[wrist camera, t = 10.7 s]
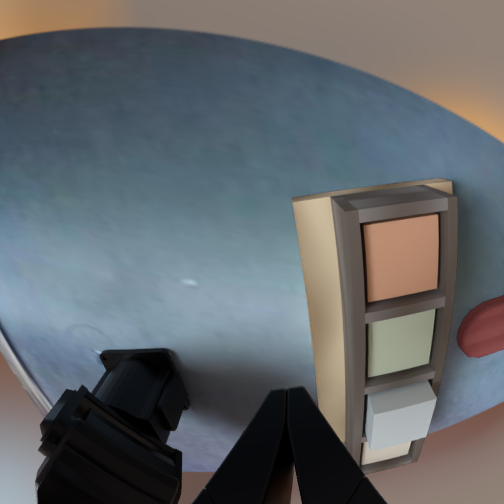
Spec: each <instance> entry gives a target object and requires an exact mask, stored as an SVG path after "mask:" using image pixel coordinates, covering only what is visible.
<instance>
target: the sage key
mask: <svg viewBox="0 0 504 504" xmlns="http://www.w3.org/2000/svg"><path fill="white" fill-rule="evenodd" d="M434 318H435V309H432V310H428V311H424V312H420V313H415V314H411V315H406V316H401V317H397V318H392V319H387V320H382V321H377V322H372V323H367V324H365V334H366V356H365V370H366V373H367V376H368V377H373V376H378V375H383V374H387V373H392V372H396V371H400V370H404V369H408V368H412V367H416V366H420V365H424V364H428V363H429V357H430V350H431V343H432V336H433V327H434Z"/></svg>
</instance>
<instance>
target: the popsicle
mask: <svg viewBox="0 0 504 504" xmlns="http://www.w3.org/2000/svg"><path fill="white" fill-rule="evenodd" d="M457 341H458V346H459V347H460V348H461V350H462V351H463V352H464V353H465V354H466V355H467V356H468V357H478V358H479V357H482V356H485V355H488V354H491V353H494V352H497V351H500V350H503V349H504V295H503V296H500V297H497V298H494V299H491V300H488V301H485V302H482V303H481V304H479V305H478V306H476V307H475V308H473V309H472V310H471V311H470V312H469V313H468V315H467V316H466V317H465V318H464V319H463V321H462V323H461V325H460V327H459V330H458V334H457Z"/></svg>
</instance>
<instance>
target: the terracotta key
mask: <svg viewBox="0 0 504 504" xmlns="http://www.w3.org/2000/svg"><path fill="white" fill-rule="evenodd" d="M360 233H361V244H362V258H363V273H364V294H365V297H366V299H367V301H368V302H373V301H378V300H383V299H388V298H393V297H398V296H403V295H408V294H413V293H418V292H422V291H427V290H432V289H436V288H437V279H438V247H439V231H438V214H436V213H434V212H432V213H425V214H418V215H411V216H404V217H397V218H391V219H384V220H377V221H371V222H364V223H360Z"/></svg>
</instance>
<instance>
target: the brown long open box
mask: <svg viewBox="0 0 504 504" xmlns="http://www.w3.org/2000/svg"><path fill="white" fill-rule="evenodd" d="M292 204H293V210H294V216H295V223H296V229H297V236H298V242H299V249H300V255H301V262H302V269H303V276H304V284H305V291H306V299H307V306H308V314H309V322H310V330H311V339H312V348H313V357H314V366H315V375H316V385H317V396H318V406H319V409H320V411H321V412H322V414H323V415H324V417H325V418H326V420H327V421H328V422H329V424H330V425H331V427H332V428H333V430H334V431H335V433H336V434H337V435H338V437H339V438H340V440H341V441H342V443H343V442H345V444H346V448H347V450H348V451H349V453H350V454H351V455H352V457H353V458H354V460H355V461H356V463H357V464H358V465H359V467H360V468H361V470H362V471H363V472H364V474H368V473H373V472H378V471H382V470H387V469H391V468H395V467H398V466H402V465H406V464H410V463H413V462H416V461H417V460H418V458H419V455H420V452H421V449H422V446H423V443H424V440H425V437H424V438H420V439H417V440H413V441H411V444H410V448H409V451H408V454H406V455H402V456H399V457H395V458H391V459H387V460H383V461H378V462H374V463H369V464H364V465H361V461H360V452H361V443H363V442H368V441H367V436H366V432H365V428H364V424H363V414H364V395H366V394H371V393H376V392H381V391H385V390H389V389H394V388H398V387H402V386H406V385H410V384H414V383H418V382H421V381H425V380H428V382H429V384H430V386H431V388H432V390H433V392H434V394H435V395H436V397H437V395H438V390H439V386H440V382H441V377H442V373H443V368H444V363H445V358H446V353H447V347H448V341H449V335H450V328H451V321H452V313H453V305H454V295H455V284H456V271H457V251H458V199H457V196H455V195H453V194H452V181H449V180H445V179H442V178H438V179H429V180H419V181H411V182H402V183H394V184H386V185H378V186H370V187H362V188H355V189H348V190H340V191H333V192H327V193H320V194H313V195H307V196H300V197H294V198H292ZM432 212H434V213H436V214H438V231H439V247H438V279H437V288H436V289H432V290H427V291H422V292H418V293H413V294H408V295H403V296H398V297H393V298H388V299H383V300H378V301H373V302H368V301H367V299H366V297H365V294H364V273H363V258H362V244H361V233H360V223H364V222H371V221H377V220H384V219H391V218H397V217H404V216H411V215H418V214H425V213H432ZM432 309H435V318H434V327H433V336H432V343H431V350H430V357H429V363H428V364H424V365H420V366H416V367H412V368H408V369H404V370H400V371H396V372H392V373H387V374H383V375H378V376H373V377H368V376H367V373H366V370H365V356H366V334H365V324H367V323H372V322H377V321H382V320H387V319H392V318H397V317H401V316H406V315H411V314H415V313H420V312H424V311H428V310H432Z"/></svg>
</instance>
